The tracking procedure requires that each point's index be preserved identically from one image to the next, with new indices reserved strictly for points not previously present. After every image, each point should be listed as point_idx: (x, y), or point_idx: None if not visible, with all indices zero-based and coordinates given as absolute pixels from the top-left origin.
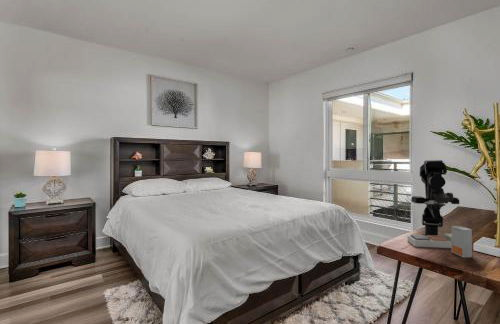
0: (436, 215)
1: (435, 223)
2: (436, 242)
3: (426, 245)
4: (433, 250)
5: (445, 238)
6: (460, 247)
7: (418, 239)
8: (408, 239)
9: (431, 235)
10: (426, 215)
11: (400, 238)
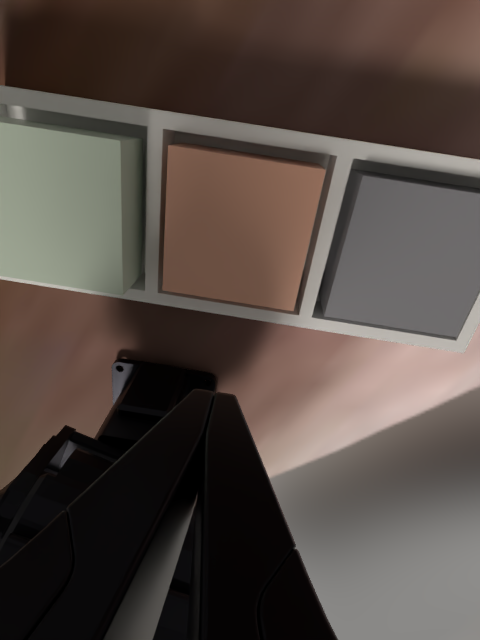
0: (182, 418)
1: (113, 462)
2: (307, 133)
3: (403, 147)
4: (410, 22)
5: (169, 185)
6: None
7: None
8: None
9: (255, 297)
10: (185, 584)
11: (445, 385)
